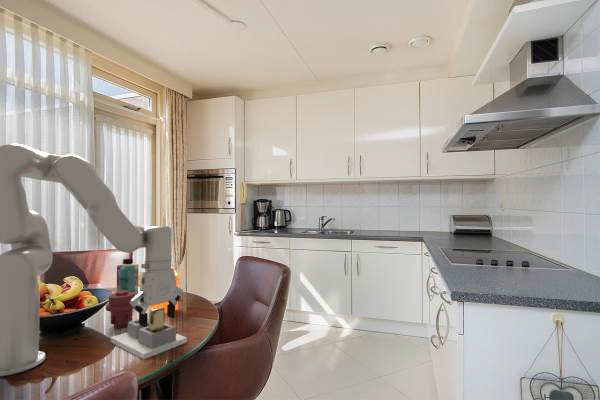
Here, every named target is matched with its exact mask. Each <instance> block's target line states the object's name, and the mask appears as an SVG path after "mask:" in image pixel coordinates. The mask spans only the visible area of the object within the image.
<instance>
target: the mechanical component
mask: <svg viewBox="0 0 600 400" xmlns="http://www.w3.org/2000/svg"><path fill="white" fill-rule="evenodd" d="M134 297H135V293H134V292H128V291H127V290H123V291H118V292H114V293H112V294H110V295H108V303H107V304H106V305H105V310H106V311H108V312H110V325H113V329H114V330H117V329H119V328H124V327H128V322H131V321H134V320H133V311H134V309H133V307H132V305H131V304H130V300H132V299H133V298H134Z"/></svg>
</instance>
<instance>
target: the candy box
mask: <svg viewBox="0 0 600 400" xmlns="http://www.w3.org/2000/svg"><path fill="white" fill-rule="evenodd" d="M123 266H134V267H135V296H136V295H137V294H139V263H132V264H123V263H122V264H118V265H116V292H118V291H119V284H120V281H119V280H120V279H119V278H120V269H121V268H122V267H123ZM116 292H115V293H116Z"/></svg>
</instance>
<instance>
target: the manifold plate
mask: <svg viewBox="0 0 600 400" xmlns="http://www.w3.org/2000/svg"><path fill="white" fill-rule="evenodd" d="M187 341H188V339H187V337H186V336H184V335H181V334H179V333H177V326H174V325H171V324H168V323H166V322H164V330H161V331H158V332H155V333H153V332H150V331H149V318H148V320H147V327H143V326H140V324H139V318H138V319H135V320H132V321H131V322H128V326H127V332H123V333H121V334H117V335H114V336H110V343H112V344H113V345H115V346H118V347H119V348H121V349H122V350H125V351H127V352H129V353H131V354H133V355H135V356H136V357H139V358H141V359H142V360H146V359H148V358H150V357H153V356H156V355H159V354H160V353H163V352H166V351H168V350H171V349H173V348H177V347H179V346H181V345H183V344H186V343H187Z"/></svg>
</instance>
